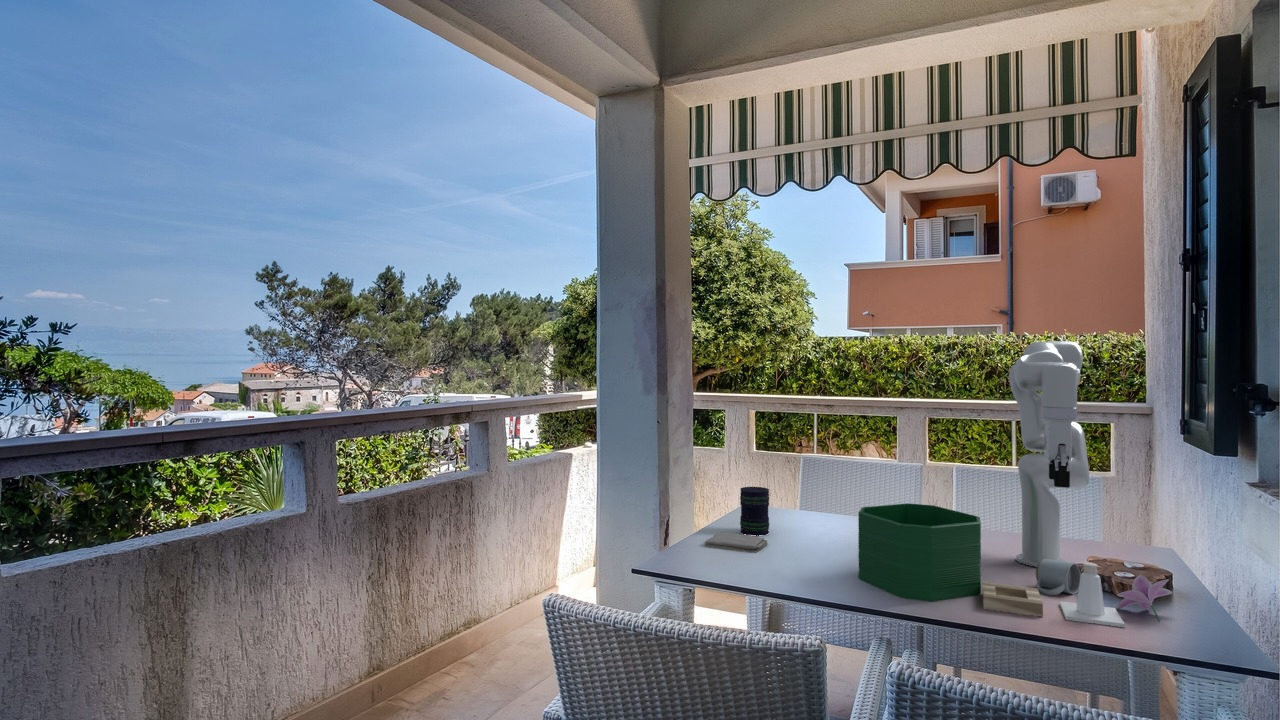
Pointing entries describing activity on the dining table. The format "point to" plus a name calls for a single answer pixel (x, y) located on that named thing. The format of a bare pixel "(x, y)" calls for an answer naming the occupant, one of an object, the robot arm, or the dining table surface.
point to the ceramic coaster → (1107, 619)
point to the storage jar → (754, 511)
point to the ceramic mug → (1057, 577)
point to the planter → (920, 551)
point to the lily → (1143, 593)
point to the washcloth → (736, 542)
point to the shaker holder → (1012, 599)
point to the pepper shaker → (1090, 592)
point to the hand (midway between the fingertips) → (1059, 483)
